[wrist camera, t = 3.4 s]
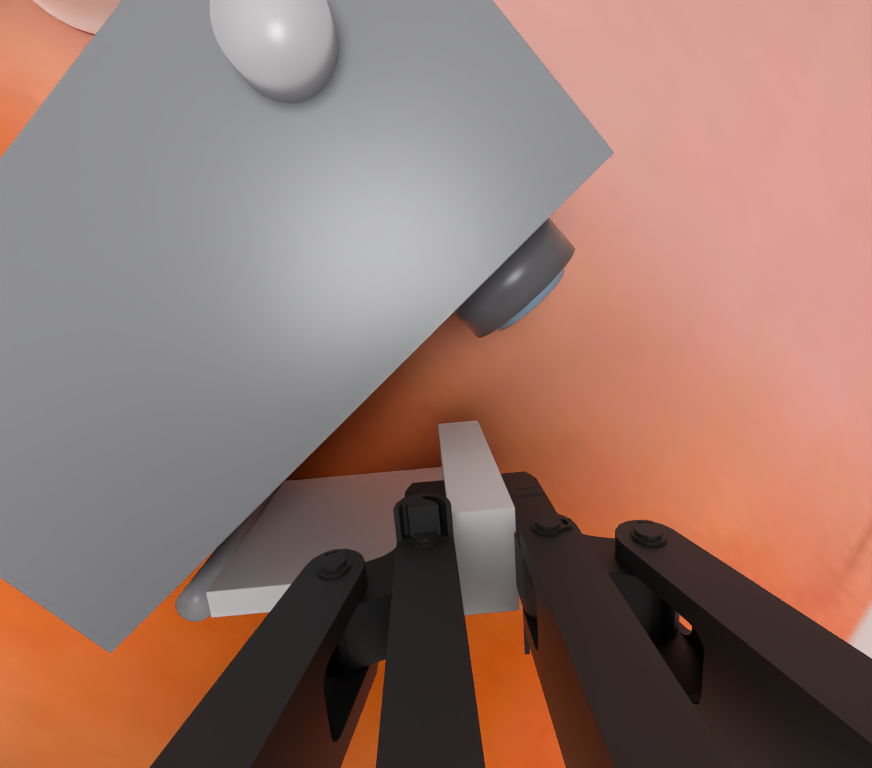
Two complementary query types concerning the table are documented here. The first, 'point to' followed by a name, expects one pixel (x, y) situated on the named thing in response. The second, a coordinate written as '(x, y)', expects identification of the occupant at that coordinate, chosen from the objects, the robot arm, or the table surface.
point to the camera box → (249, 262)
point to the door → (297, 539)
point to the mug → (80, 12)
